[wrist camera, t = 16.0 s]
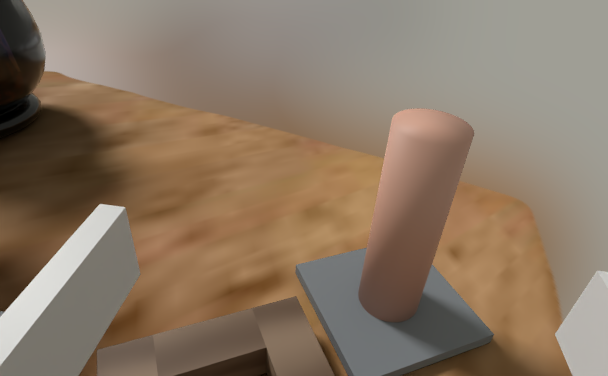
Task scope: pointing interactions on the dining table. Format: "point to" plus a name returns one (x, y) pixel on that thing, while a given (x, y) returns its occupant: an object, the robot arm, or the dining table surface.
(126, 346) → the walnut pocket block
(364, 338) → the slate mat
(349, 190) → the dining table surface
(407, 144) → the terracotta peg
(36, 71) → the amphora vase
